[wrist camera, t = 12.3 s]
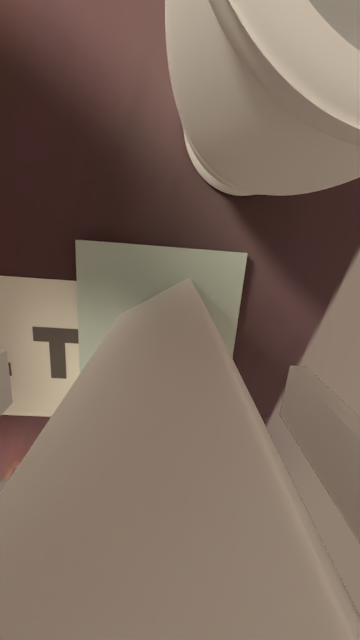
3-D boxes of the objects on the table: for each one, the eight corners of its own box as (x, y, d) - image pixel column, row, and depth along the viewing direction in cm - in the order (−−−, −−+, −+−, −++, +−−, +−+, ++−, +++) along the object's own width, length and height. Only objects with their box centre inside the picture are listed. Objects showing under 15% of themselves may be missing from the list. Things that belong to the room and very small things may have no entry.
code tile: (-39, 405, 24) (-48, 412, 23) (-63, 269, 21) (-75, 270, 20) (99, 411, 25) (96, 419, 24) (97, 280, 21) (94, 282, 20)
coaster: (84, 387, 23) (80, 393, 22) (79, 239, 20) (75, 239, 19) (224, 393, 24) (226, 400, 23) (243, 252, 20) (247, 253, 19)
